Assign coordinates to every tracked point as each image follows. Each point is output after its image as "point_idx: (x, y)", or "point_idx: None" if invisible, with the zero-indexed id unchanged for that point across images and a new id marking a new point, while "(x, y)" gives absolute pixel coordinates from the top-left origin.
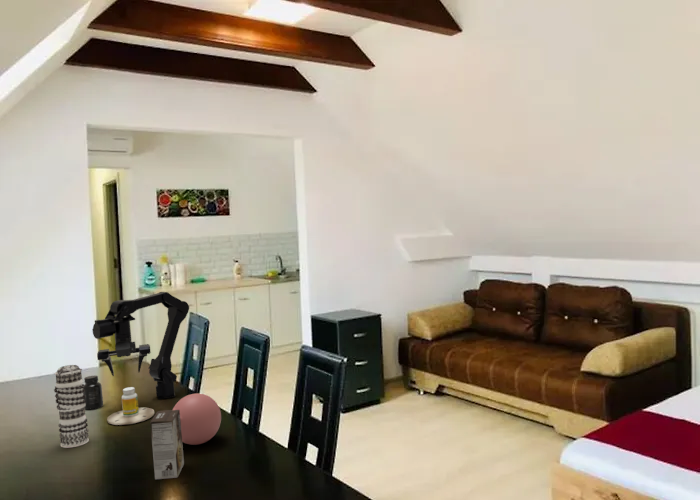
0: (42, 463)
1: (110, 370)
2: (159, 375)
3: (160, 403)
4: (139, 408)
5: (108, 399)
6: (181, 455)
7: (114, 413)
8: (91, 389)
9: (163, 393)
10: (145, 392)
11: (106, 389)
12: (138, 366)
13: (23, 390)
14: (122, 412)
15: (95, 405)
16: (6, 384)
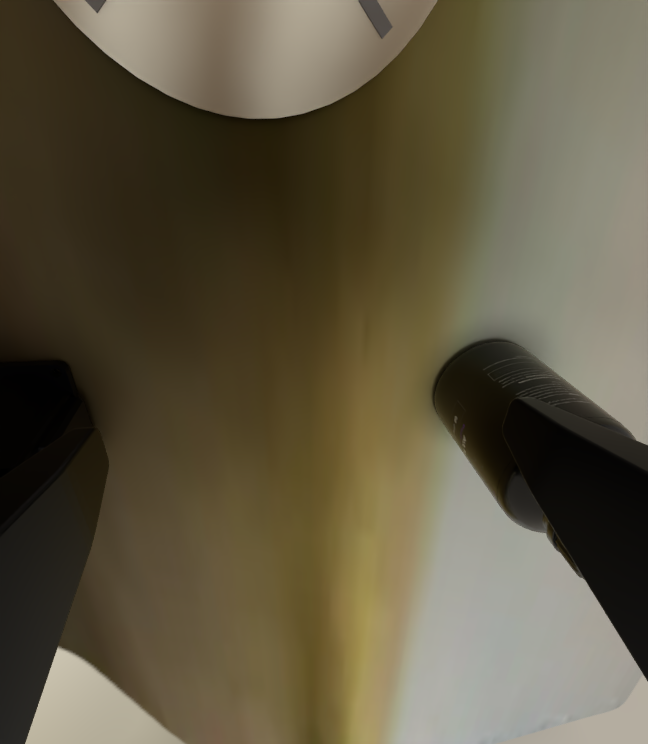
0: None
1: (645, 446)
2: None
3: (15, 248)
4: (166, 57)
5: (393, 487)
6: None
7: (404, 25)
8: (589, 417)
9: (4, 392)
10: (197, 531)
11: (386, 611)
12: (11, 511)
13: (618, 653)
14: (332, 6)
15: (493, 352)
16: (627, 695)
